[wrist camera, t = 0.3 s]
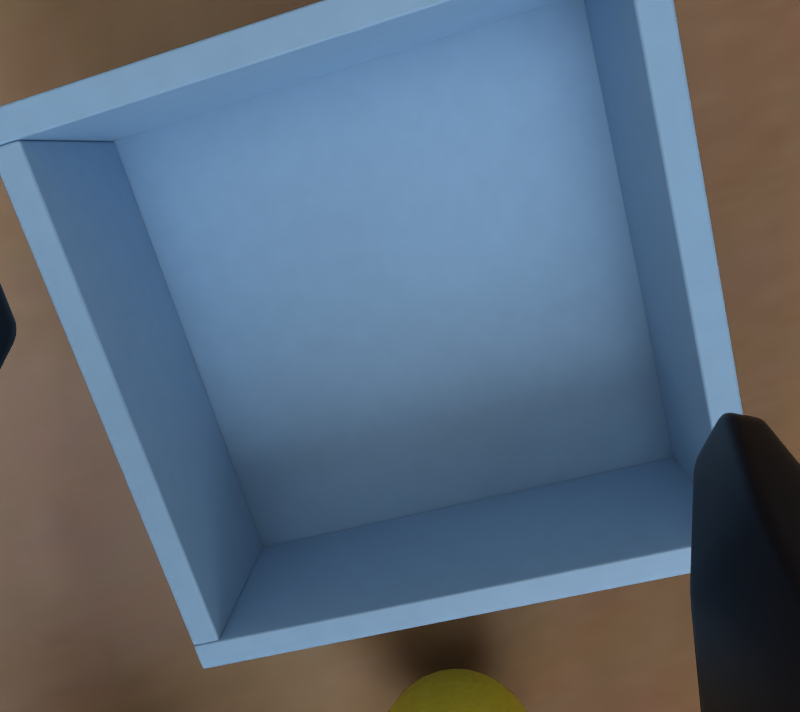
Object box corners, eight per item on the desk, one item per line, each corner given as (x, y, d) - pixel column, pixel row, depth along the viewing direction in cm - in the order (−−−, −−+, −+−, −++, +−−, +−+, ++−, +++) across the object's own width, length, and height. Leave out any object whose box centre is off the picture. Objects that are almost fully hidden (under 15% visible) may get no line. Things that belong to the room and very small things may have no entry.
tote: (697, 465, 24) (768, 558, 18) (254, 561, 26) (202, 669, 21) (601, -42, 20) (656, -111, 15) (90, 122, 22) (-27, 114, 17)
